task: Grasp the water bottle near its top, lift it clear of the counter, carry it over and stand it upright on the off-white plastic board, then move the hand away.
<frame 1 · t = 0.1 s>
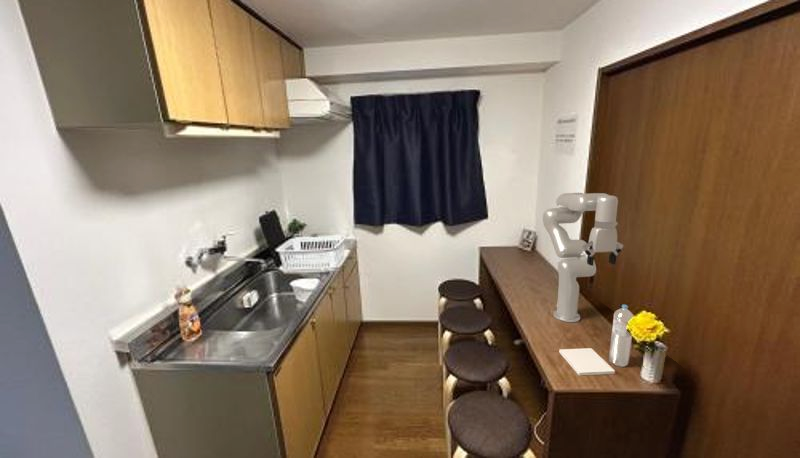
hand: (601, 264, 146), 37 cm above the counter, tool pointing down, fingers open, 9 cm apart
water bottle: (618, 362, 139), on the counter
board: (585, 362, 139), on the counter
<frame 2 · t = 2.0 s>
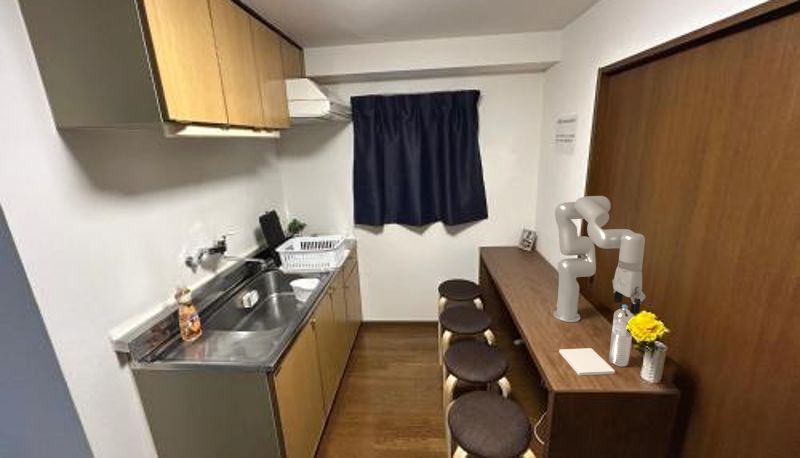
hand: (625, 307, 133), 24 cm above the counter, tool pointing down, fingers open, 9 cm apart
nothing on the counter moved.
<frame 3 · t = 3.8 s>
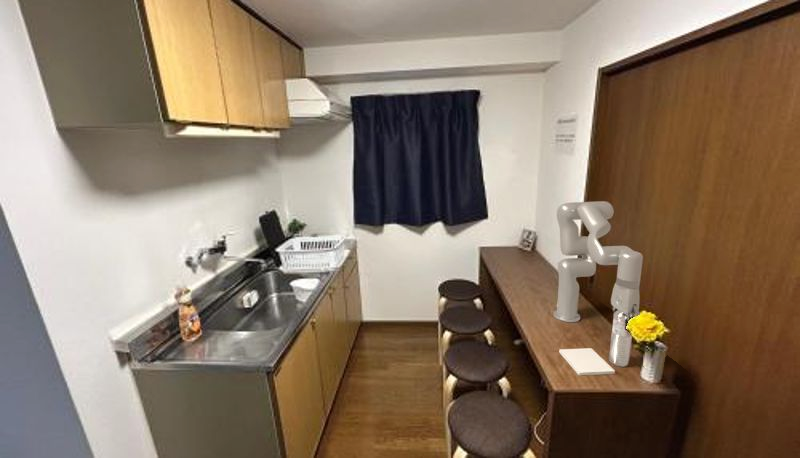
hand: (622, 324, 135), 17 cm above the counter, tool pointing down, fingers closed on water bottle, 6 cm apart
water bottle: (618, 362, 139), on the counter, touching gripper
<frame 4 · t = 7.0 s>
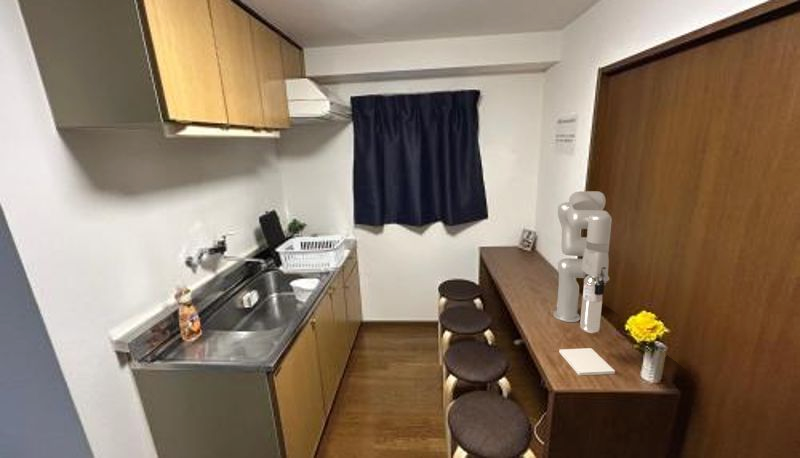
hand: (593, 290, 133), 32 cm above the counter, tool pointing down, fingers closed on water bottle, 6 cm apart
water bottle: (589, 329, 136), point 15 cm above the counter, touching gripper
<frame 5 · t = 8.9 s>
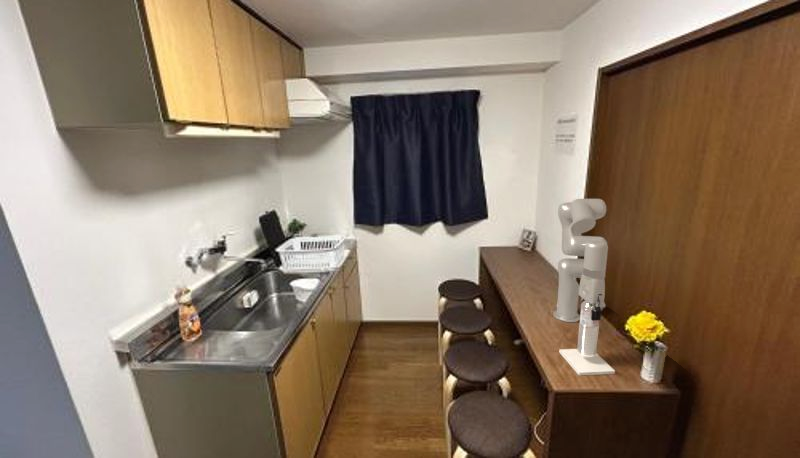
hand: (589, 315, 135), 21 cm above the counter, tool pointing down, fingers closed on water bottle, 6 cm apart
water bottle: (586, 353, 139), point 4 cm above the counter, touching gripper
when the fingers open (19 cm above the counter, at t = 10.2 s): water bottle drops 2 cm, resting on board.
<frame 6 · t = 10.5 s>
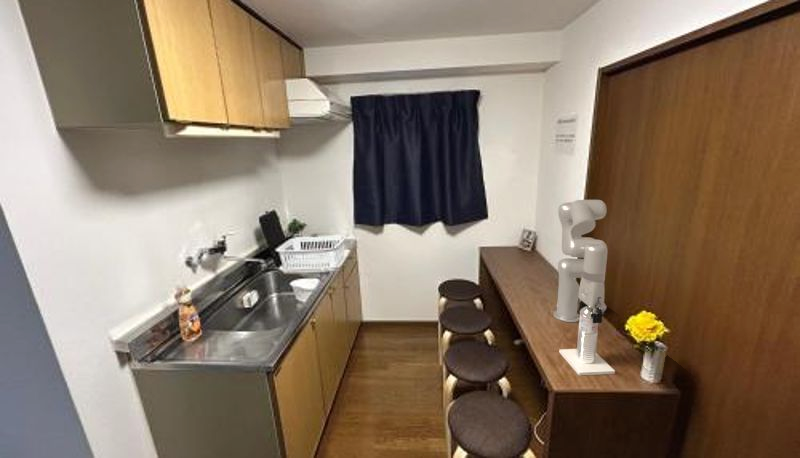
hand: (589, 316, 135), 20 cm above the counter, tool pointing down, fingers open, 9 cm apart
water bottle: (585, 359, 140), point 1 cm above the counter, touching board
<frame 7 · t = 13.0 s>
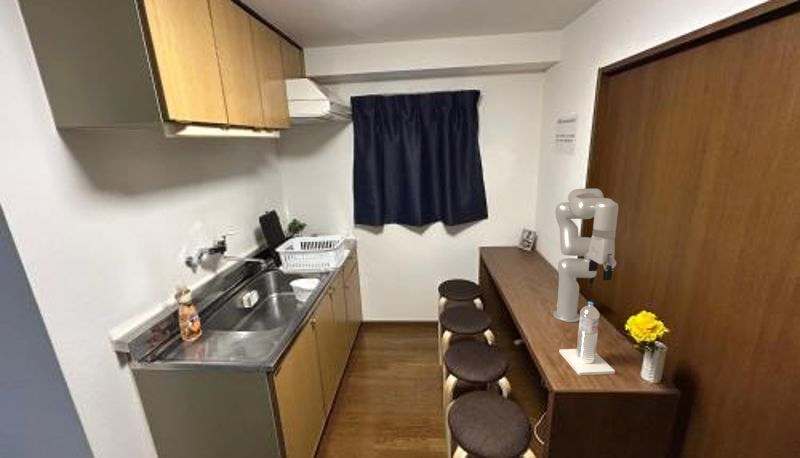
hand: (599, 275, 135), 36 cm above the counter, tool pointing down, fingers open, 9 cm apart
nothing on the counter moved.
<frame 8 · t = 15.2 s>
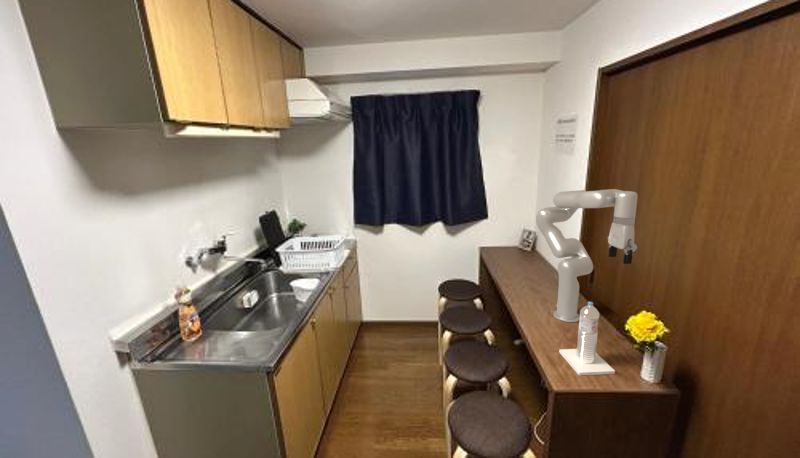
hand: (619, 260, 146), 38 cm above the counter, tool pointing down, fingers open, 9 cm apart
nothing on the counter moved.
at the end: water bottle inside the target area on the board (0.3 cm from its centre), point 1.0 cm above the board's base; water bottle tilted 0°; the gripper is holding nothing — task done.
